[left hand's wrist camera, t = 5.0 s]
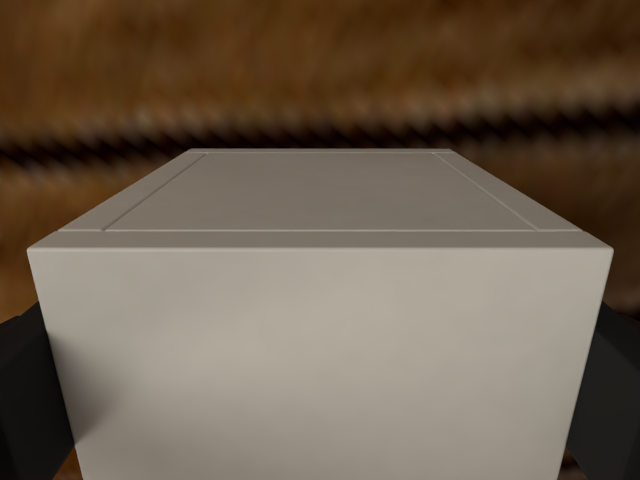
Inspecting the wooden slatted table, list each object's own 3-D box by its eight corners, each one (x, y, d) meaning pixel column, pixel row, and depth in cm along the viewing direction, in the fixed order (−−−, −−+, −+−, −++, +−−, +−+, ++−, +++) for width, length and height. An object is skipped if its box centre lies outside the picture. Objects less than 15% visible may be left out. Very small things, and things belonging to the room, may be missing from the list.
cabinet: (417, 478, 23) (486, 768, 13) (222, 478, 23) (154, 768, 13) (451, 148, 17) (617, 248, 8) (189, 148, 17) (23, 248, 8)
